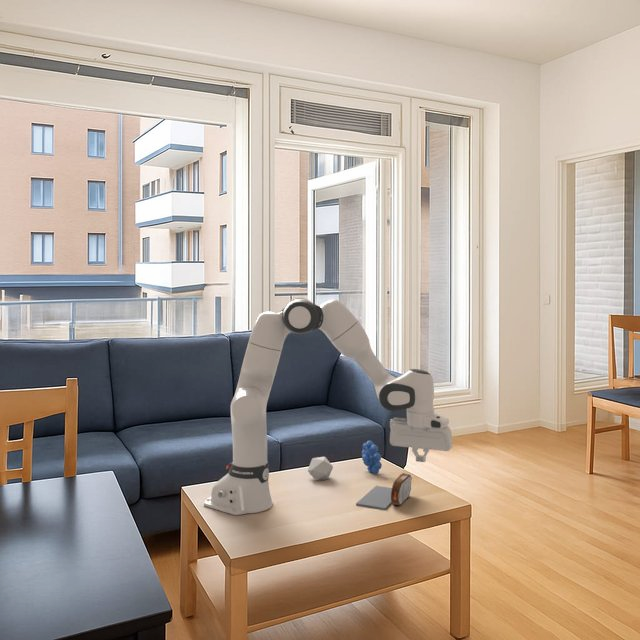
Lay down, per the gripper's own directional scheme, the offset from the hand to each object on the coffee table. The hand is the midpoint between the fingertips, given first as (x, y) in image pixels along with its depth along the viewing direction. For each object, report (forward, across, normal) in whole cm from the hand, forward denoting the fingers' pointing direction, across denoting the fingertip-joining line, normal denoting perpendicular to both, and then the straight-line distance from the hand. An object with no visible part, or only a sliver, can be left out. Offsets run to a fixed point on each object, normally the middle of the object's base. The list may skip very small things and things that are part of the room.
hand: (420, 461), depth 202 cm
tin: (+14, -7, 0) cm, 16 cm away
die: (+14, -41, +10) cm, 44 cm away
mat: (+14, -14, 0) cm, 20 cm away
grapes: (+14, -27, +24) cm, 39 cm away
